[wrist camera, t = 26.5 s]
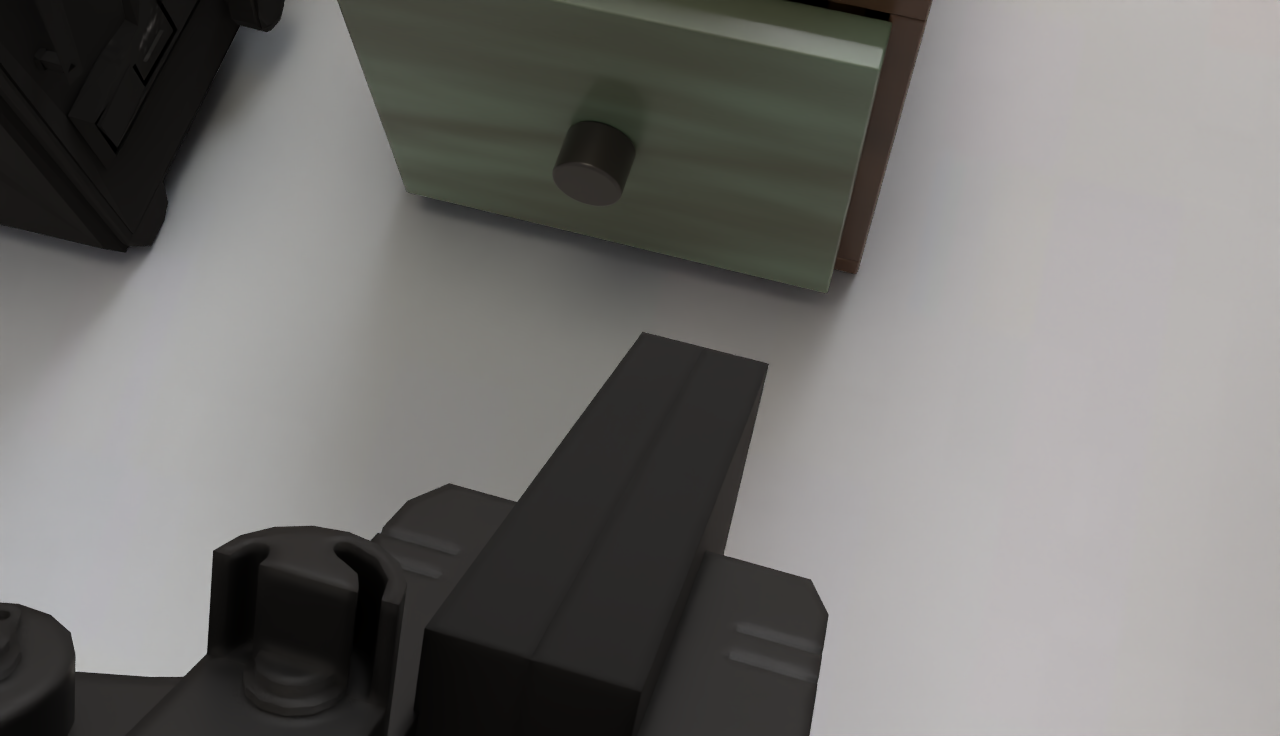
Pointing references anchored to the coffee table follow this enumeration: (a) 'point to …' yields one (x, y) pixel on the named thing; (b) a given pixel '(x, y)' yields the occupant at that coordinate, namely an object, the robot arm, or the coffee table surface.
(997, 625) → the coffee table surface
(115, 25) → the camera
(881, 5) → the cabinet
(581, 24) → the drawer
